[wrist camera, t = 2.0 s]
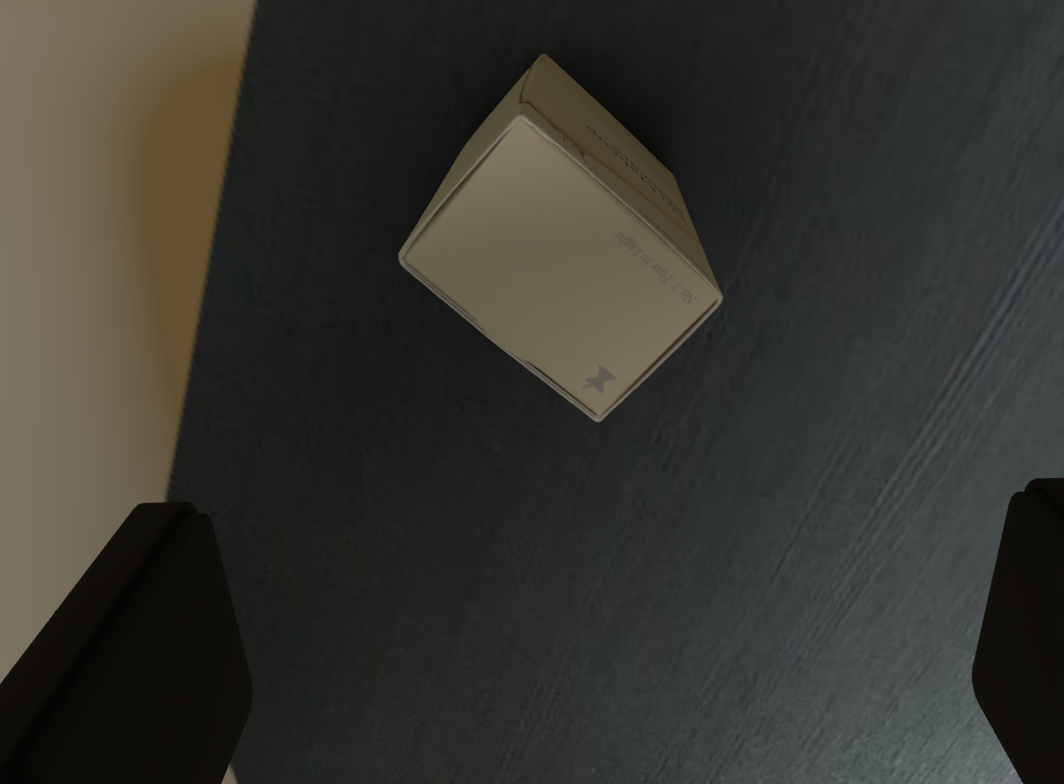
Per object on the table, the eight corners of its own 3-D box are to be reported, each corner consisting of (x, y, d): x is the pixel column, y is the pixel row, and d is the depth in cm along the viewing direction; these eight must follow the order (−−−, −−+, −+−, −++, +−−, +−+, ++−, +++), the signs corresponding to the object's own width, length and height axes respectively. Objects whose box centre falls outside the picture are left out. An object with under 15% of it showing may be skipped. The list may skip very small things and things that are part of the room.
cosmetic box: (676, 175, 30) (743, 301, 19) (587, 268, 32) (602, 434, 21) (537, 44, 29) (524, 102, 18) (450, 150, 30) (389, 262, 19)
